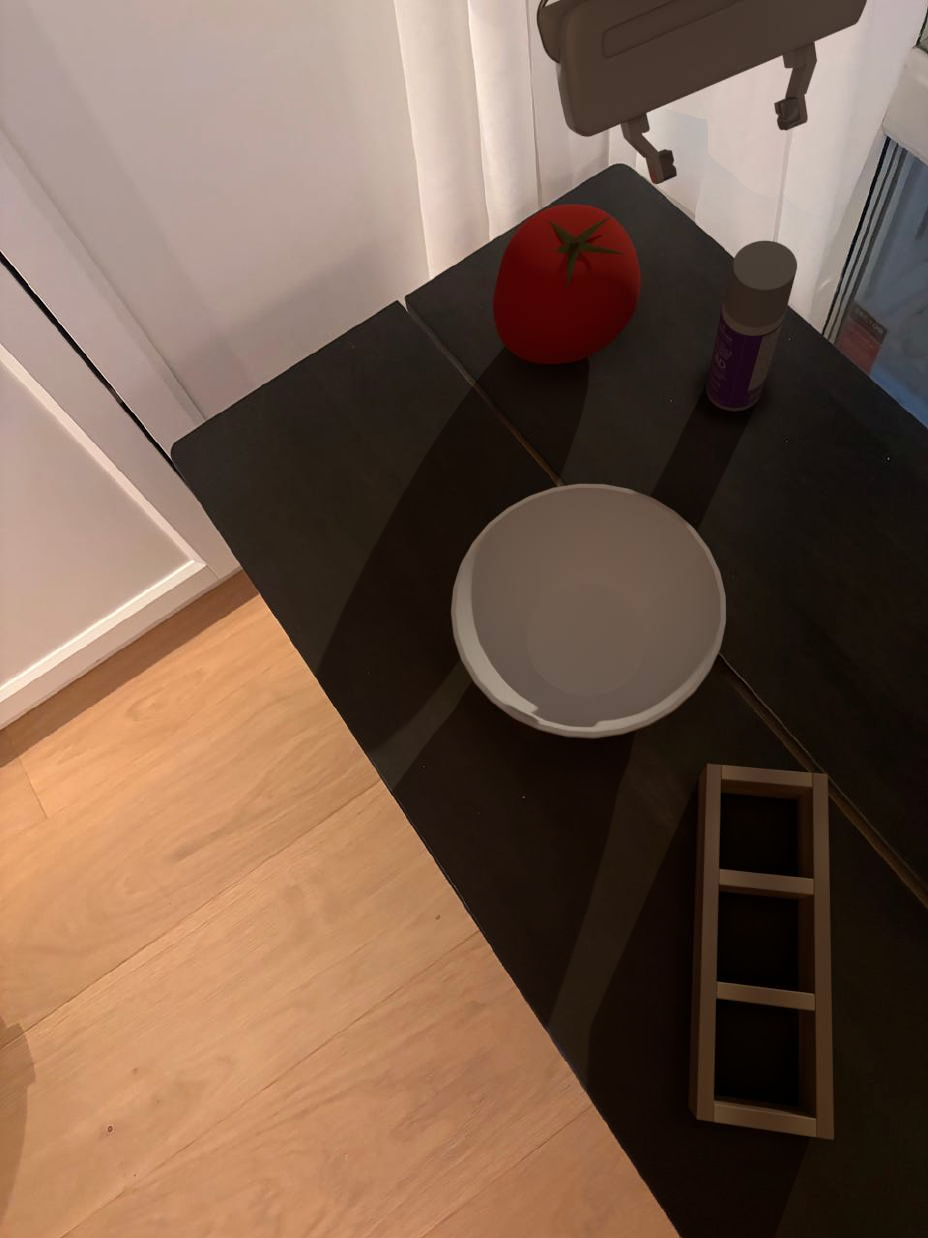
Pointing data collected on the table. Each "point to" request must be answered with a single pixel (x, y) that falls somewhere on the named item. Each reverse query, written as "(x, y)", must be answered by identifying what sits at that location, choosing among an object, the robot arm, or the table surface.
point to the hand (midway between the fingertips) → (728, 153)
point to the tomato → (565, 285)
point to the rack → (812, 952)
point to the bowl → (588, 610)
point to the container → (750, 323)
